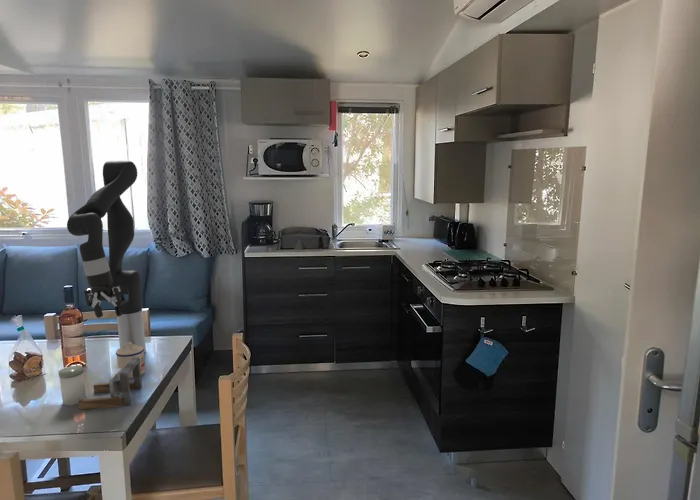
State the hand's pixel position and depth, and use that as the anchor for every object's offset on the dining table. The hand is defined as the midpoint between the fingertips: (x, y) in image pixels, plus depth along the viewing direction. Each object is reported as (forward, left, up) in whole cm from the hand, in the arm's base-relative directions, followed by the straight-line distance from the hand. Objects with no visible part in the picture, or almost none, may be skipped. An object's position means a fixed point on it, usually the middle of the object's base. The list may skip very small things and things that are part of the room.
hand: (109, 316), depth 169 cm
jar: (+19, -6, -21) cm, 29 cm away
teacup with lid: (-1, +6, -22) cm, 22 cm away
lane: (+19, +4, -21) cm, 29 cm away
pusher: (+19, +9, -21) cm, 30 cm away
